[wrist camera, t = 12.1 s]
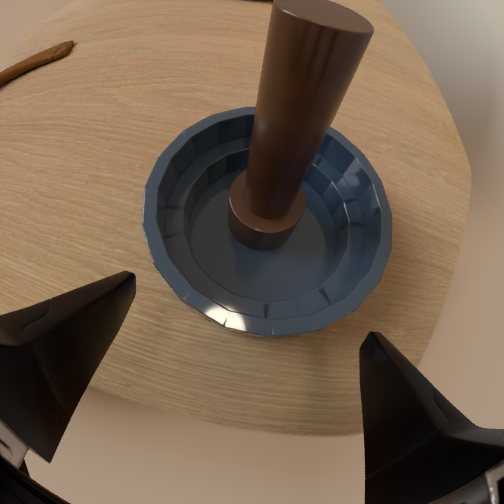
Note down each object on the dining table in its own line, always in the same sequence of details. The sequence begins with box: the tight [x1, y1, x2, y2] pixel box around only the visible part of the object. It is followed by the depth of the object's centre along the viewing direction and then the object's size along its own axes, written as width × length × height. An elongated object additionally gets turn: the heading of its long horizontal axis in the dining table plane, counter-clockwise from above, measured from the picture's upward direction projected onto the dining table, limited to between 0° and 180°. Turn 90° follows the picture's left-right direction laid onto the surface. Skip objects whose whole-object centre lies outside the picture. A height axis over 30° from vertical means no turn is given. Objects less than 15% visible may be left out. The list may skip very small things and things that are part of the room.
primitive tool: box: [0, 41, 73, 85], centre depth 22 cm, size 19×6×4 cm, turn 105°
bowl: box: [142, 107, 392, 338], centre depth 16 cm, size 14×14×5 cm
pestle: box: [228, 0, 374, 250], centre depth 11 cm, size 4×4×14 cm
